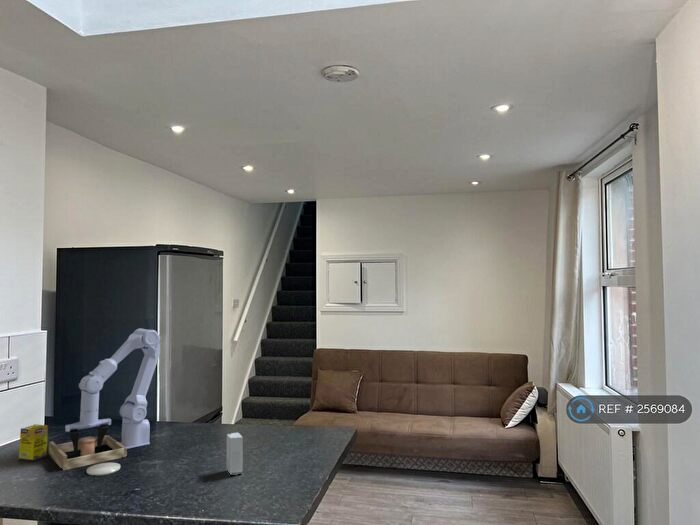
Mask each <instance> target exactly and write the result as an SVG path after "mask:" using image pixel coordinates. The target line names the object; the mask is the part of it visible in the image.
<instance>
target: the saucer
mask: <svg viewBox="0 0 700 525" xmlns="http://www.w3.org/2000/svg"><path fill="white" fill-rule="evenodd" d="M120 469H121V464H120V463H117V462H100V463H95V464H92V465H91V466H89V467H87V468H86V474H87V475H89V476H94V475H95V476H94V477H96V476H99V477H100V476H106V475H107V476H108V475H111V474H113V473H116V472H118V471H119V470H120Z"/></svg>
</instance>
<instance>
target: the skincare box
mask: <svg viewBox="0 0 700 525" xmlns="http://www.w3.org/2000/svg"><path fill="white" fill-rule="evenodd" d="M243 439H244V437H243V436H242V435H241V434H240V433H239V432H232V433H227V434H226V471H227V470H228V472H229V473H230V474H232V473H238V472H242V471H243V468H244V467H243V466H244V464H243V457H244V456H243V451H244V450H243V448H244V447H243V445H244V444H243ZM228 472H227V473H228ZM243 472H244V471H243ZM229 473H228V474H229Z"/></svg>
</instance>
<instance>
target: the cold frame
mask: <svg viewBox="0 0 700 525" xmlns="http://www.w3.org/2000/svg"><path fill="white" fill-rule="evenodd" d="M95 437H96V441H95V447H98V446H97V440H98V436H95ZM101 446H108V447H109V448H110V449H112V450H107V451H102V452H97V453H96V452H95V454H91V455H86V456H81V455H80V456H81V457H80V456H77V457H73V458H68V455H67V454H66V453H68V452H73V451H74V447H73V442H72V441H69V442H64V443H58V444H56V443H55V442H54V441H53V440H52V441H49V442H48V456H49V455H50V456H51V457H50V456H49V457H50V458H51V459H52V460H53V462H54V463H56V464H57V466H59V468H62V469H63V470H62V469H61V470H62V471H67V470H71V469H75V468H76V469H77V468H81V467H85V466H89V465H96V464H101V463H105V462H107V461H113V460H117V459H123V458H127V457H126V456H127V455H128V451H127V450H128V449H127V448H126V447H125V446H123V445H122V444H120V442H119V441H118V440H116V439H114V438H113V437H112V436H110V435H109V434H107V435H105V436H104V438H103V441H102V445H101ZM78 451H81V442H80V440H78ZM74 452H75V451H74ZM122 457H123V458H122Z"/></svg>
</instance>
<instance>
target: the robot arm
mask: <svg viewBox="0 0 700 525" xmlns="http://www.w3.org/2000/svg"><path fill="white" fill-rule="evenodd" d="M160 341H161V336H160V334H158V331H157V330H155V329H145V328H137V329H135V330H134V331H133V333H131V334H130V335H129V336H128V338H127V339H126V340H125V341H124V343H122V344H121V346H120V347H119V348H118V349H117V350H116V351H115V353H113V355H112V356H111V357H110V358H104V360H100V361H99V362H98V363H99V364H98V365H97V366H96V367H95V368H94V369H93V370H92V371H89V373H88V375H85V376H84V377H82V378H81V380H80V382H79V383H78V388H79V389H80V391H81V393H80V394H81V396H80V397H81V398H80V412H79V413H80V415H79V421H77V422H74V423H70V424H65V426H64V428H65V432H66V433H68V435H69V436H70V439H71V442H73V447H74V452H78V451H79V450H78V441H79V437H80V432H79V430H84V429H89V428H90V429H91V428H96V427H97V437H98V440H97V446H96V447H98V448H101V447H102V446H103V445H102V441H103V438H104V436H106V434H107V432H108V430H109V428H110V426H111V425H112V419H111V418H102V419H99V405H100V403H99V402H100V391H101V390H102V389H103V387H104V383H105V382H106V381H107V380H108V379H109V378H110V377H111V376H112V375H113V374H114V373H115V372H116V371H117V369H118V364H119V363H120V362H122V360H124V359H125V358H126V357H127V356H128V355H129V354H130V353H131V352H133V351H134V350H136V349H141V350H142V352H143V354H144V356H143V358H142V361H141V364H140V367H139V369H138V374H137V376H136V378H135V381H134V383H133V384H134V385H133V387H132V390H131V394H129V395H128V396H127V397H126V398H125V400H124V402H123V404H122V405H121V406H120V409H119V416H120V417H121V418H122V422H121V423H122V424H121V426H122V427H121V441H120V442H119V443H120V444H122V445H123V446H125V447H126V448H127V450H129V449H133V448H137V447H142V446H148V445H150V444H151V443H150V433H151V432H150V430H151V427H150V426H151V425H150V422H149V420H148V419H147V418H146V416H147V413H148V412H147V407H148V401H147V399H146V397H147V393H148V392H149V388H150V385H151V382H152V378H153V375H154V373H155V369H156V366H157V364H158V361H159V358H160V356H161V346H160V345H161V344H160Z"/></svg>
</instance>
